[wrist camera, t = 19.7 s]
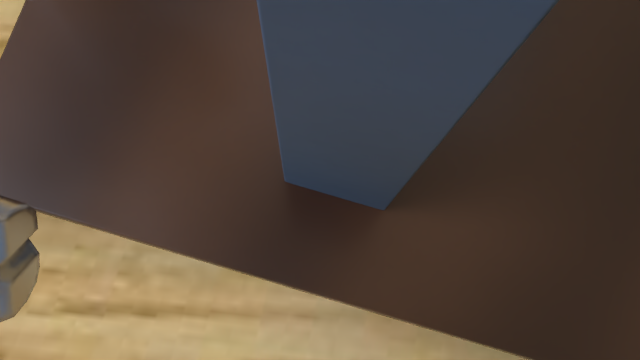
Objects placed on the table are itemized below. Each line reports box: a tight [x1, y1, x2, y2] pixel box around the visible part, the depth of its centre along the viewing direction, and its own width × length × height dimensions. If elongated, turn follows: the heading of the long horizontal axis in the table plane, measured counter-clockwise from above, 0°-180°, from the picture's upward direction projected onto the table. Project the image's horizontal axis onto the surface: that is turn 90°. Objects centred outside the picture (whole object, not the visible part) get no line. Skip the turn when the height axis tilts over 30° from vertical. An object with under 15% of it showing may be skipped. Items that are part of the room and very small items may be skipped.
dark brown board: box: [0, 0, 640, 360], centre depth 19 cm, size 22×15×1 cm
